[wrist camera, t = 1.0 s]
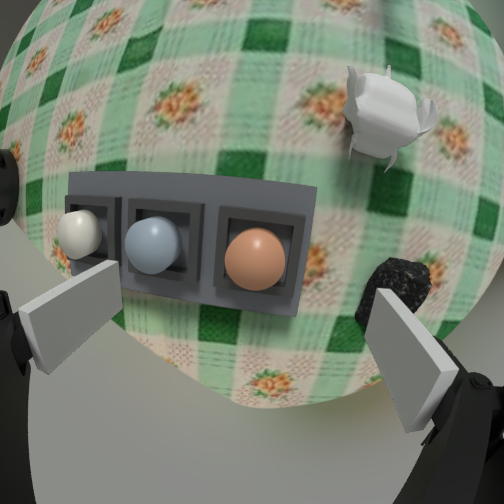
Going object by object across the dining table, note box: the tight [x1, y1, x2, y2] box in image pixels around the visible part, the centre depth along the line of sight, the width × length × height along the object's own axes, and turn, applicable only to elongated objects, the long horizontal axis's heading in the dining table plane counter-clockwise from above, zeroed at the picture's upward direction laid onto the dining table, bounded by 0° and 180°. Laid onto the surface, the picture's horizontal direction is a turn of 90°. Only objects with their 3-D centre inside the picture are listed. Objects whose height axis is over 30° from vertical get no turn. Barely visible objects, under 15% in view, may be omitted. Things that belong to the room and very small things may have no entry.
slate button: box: [125, 216, 182, 274], centre depth 25 cm, size 5×5×2 cm
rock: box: [355, 257, 432, 327], centre depth 29 cm, size 7×10×6 cm
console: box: [65, 171, 317, 317], centre depth 30 cm, size 30×14×6 cm, turn 84°
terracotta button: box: [225, 227, 285, 291], centre depth 25 cm, size 5×5×2 cm
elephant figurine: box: [342, 65, 438, 173], centre depth 22 cm, size 10×12×9 cm
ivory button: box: [57, 210, 102, 259], centre depth 26 cm, size 5×5×2 cm
